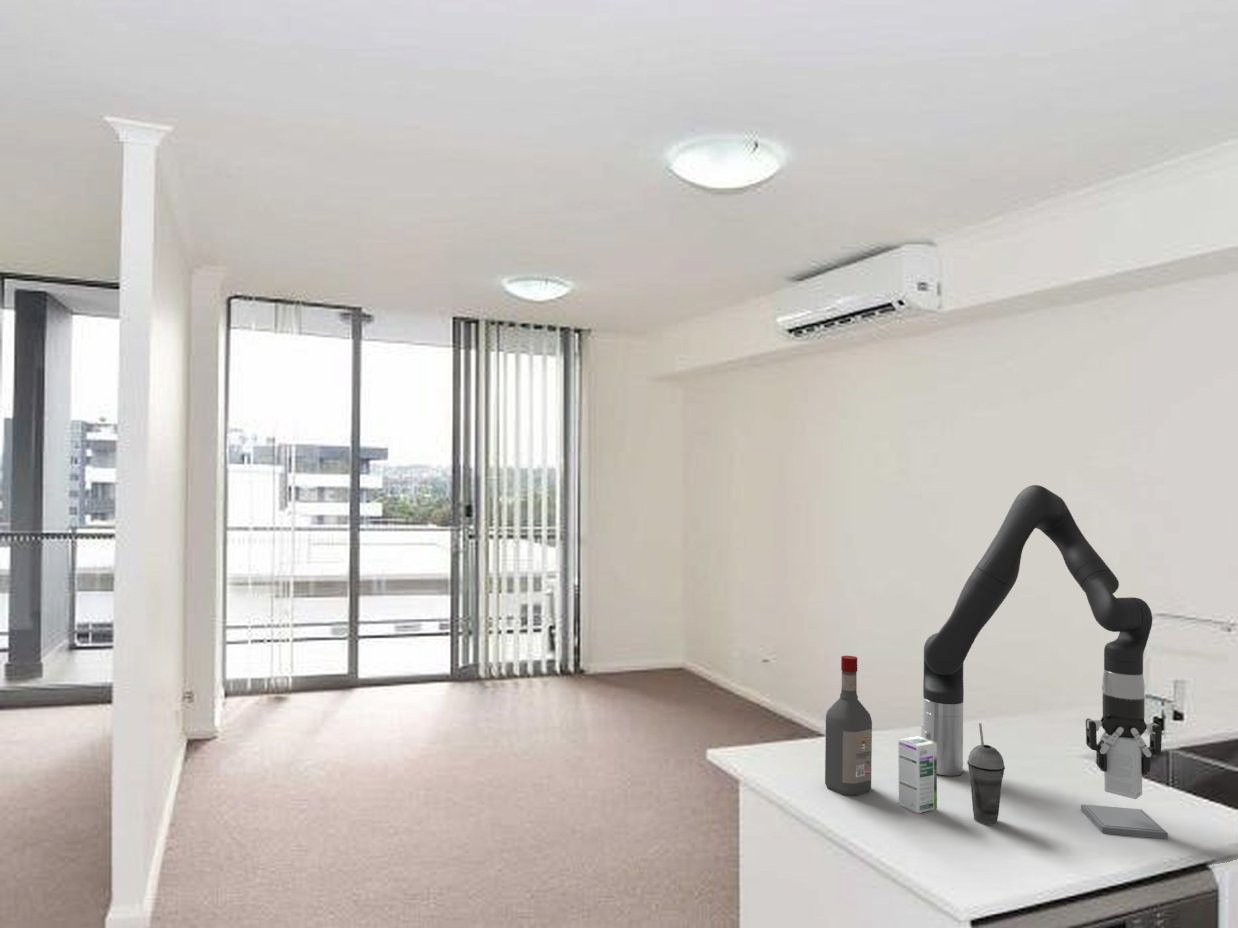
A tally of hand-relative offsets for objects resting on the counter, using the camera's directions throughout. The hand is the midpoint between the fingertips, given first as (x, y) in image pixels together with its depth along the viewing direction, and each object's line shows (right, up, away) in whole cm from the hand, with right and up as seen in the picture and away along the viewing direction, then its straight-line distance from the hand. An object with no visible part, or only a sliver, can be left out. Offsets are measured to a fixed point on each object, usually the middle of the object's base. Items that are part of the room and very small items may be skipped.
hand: (1123, 771), depth 171 cm
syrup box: (-41, -10, +7) cm, 43 cm away
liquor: (-53, -10, +17) cm, 57 cm away
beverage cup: (-29, -10, 0) cm, 31 cm away
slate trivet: (0, -11, 0) cm, 11 cm away
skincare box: (0, -5, 0) cm, 5 cm away
